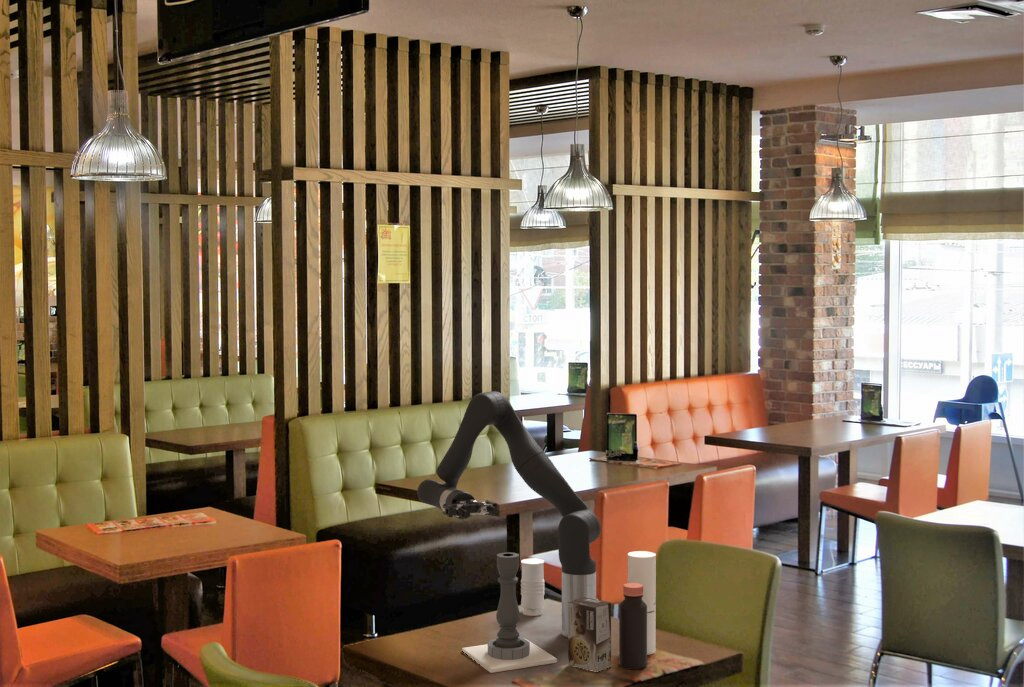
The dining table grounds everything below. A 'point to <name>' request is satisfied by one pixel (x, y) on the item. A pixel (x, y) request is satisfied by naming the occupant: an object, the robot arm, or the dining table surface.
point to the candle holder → (508, 601)
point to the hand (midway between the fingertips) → (480, 513)
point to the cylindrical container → (645, 589)
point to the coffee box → (589, 634)
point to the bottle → (633, 628)
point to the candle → (532, 586)
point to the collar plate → (508, 664)
